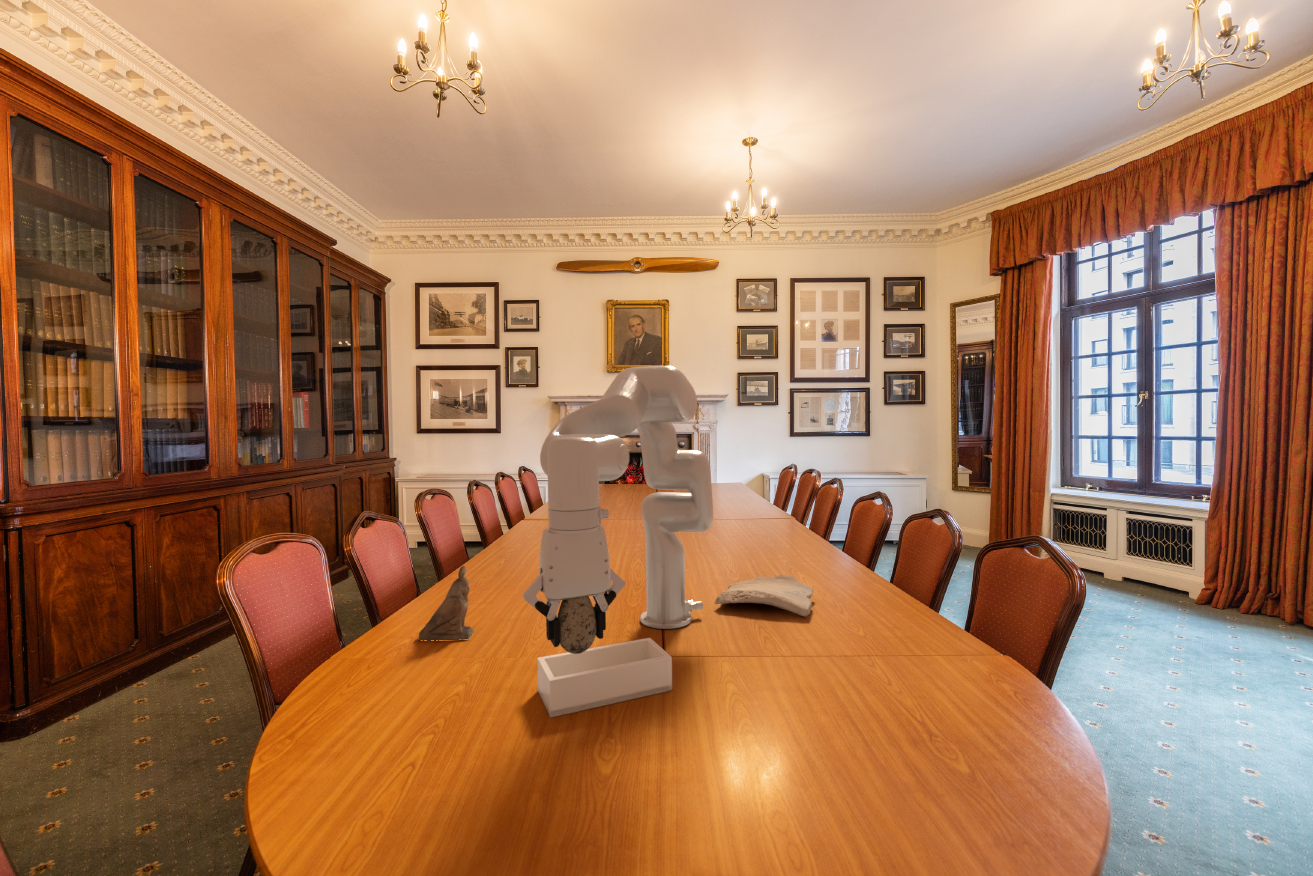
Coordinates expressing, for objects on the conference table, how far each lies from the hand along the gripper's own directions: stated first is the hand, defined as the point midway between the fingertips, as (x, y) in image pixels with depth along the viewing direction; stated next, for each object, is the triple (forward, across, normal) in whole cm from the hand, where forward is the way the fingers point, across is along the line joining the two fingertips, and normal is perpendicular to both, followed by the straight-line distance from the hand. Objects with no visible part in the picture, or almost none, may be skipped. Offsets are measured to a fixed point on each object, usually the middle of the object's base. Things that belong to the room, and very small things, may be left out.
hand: (576, 638), depth 80 cm
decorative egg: (+2, 0, 0) cm, 2 cm away
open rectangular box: (+16, -8, -13) cm, 22 cm away
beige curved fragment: (+17, -63, -41) cm, 78 cm away
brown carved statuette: (+16, +16, -53) cm, 58 cm away
